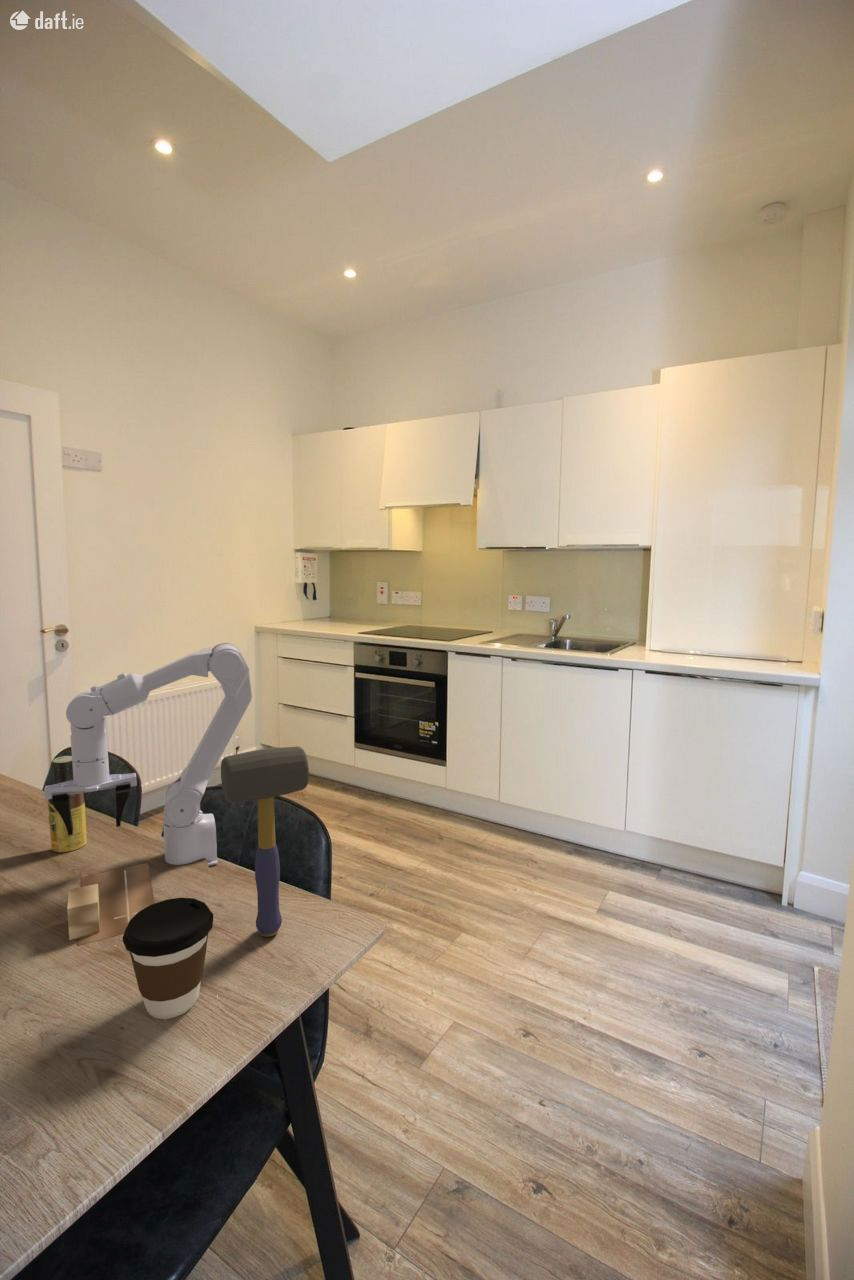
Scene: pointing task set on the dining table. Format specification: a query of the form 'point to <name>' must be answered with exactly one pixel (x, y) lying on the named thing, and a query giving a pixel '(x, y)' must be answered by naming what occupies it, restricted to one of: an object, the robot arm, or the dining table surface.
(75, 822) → the sauce bottle
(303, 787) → the rubber mallet
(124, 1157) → the dining table surface
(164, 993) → the coffee cup
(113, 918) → the walnut board
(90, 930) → the light wooden block
